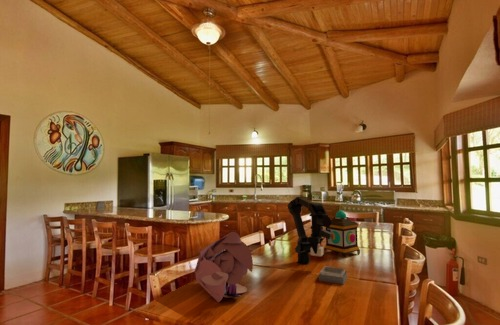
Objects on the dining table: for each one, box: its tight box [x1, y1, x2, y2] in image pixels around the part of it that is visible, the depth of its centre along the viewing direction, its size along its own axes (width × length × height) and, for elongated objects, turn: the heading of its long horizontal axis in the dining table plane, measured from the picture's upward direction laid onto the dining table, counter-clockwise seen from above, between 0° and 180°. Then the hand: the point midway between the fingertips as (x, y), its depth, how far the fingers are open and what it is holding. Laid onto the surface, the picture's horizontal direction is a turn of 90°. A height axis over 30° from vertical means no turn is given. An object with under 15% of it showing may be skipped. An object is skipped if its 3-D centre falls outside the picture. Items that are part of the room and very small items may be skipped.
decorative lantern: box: [323, 210, 361, 259], centre depth 195 cm, size 20×20×30 cm
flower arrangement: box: [193, 231, 254, 303], centre depth 129 cm, size 35×24×28 cm
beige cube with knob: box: [310, 244, 325, 257], centre depth 159 cm, size 6×6×6 cm
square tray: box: [318, 265, 348, 286], centre depth 143 cm, size 12×12×4 cm
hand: (317, 252), depth 159 cm, fingers closed on beige cube with knob, 6 cm apart
